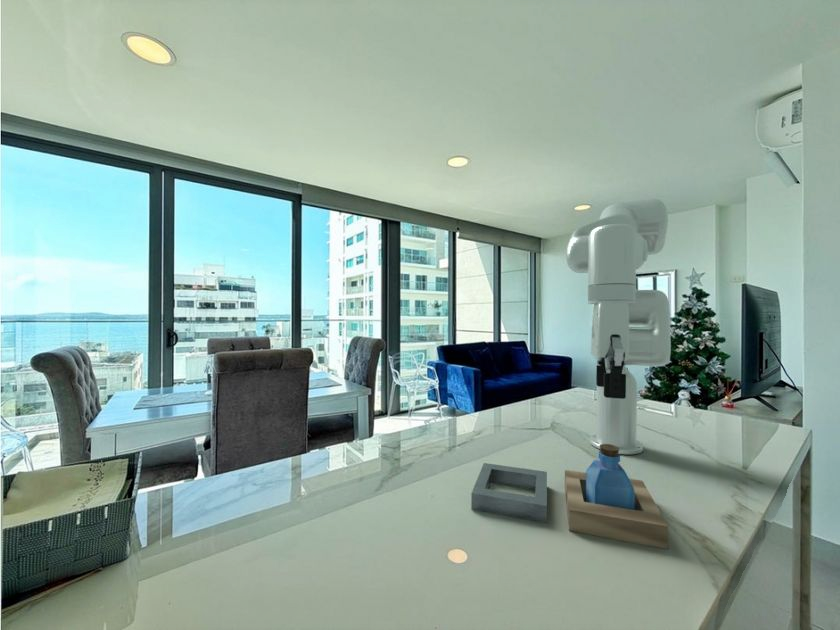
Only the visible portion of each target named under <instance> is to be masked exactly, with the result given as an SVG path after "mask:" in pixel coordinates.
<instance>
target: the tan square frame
mask: <svg viewBox="0 0 840 630" xmlns="http://www.w3.org/2000/svg"><path fill="white" fill-rule="evenodd" d="M629 480H630V482H631V484H632V486H633V488H634V510H632V509H626V508H619V507H613V506H607V505H601V504H594V503H588V502H586V501H584V499H586V472H583V471H576V470H569V469H565V470H564V494H565V502H566V513H567V514H566V515H567V525H568V531H570V532H575V533H580V534H585V535H591V536H596V537H602V538H606V539H613V540H619V541H623V542H627V543H634V544H640V545H644V546H650V547H655V548H660V549H667V550H668V547H669V543H668V542H669V525H668V524H667V521H666V520H665V518H664V517H663V514H662V513H661V511H660V510H659V507H658V506H657V504H656V502H655V500H654V499H653V497H652V495H651V493H650V492H649V490H648V488H647V486H646V484H645V482H644V481H643V480H641V479H635V478H629ZM583 497H584V498H583Z"/></svg>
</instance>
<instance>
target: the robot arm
mask: <svg viewBox="0 0 840 630" xmlns="http://www.w3.org/2000/svg"><path fill="white" fill-rule="evenodd" d="M668 225H669V212H668V209H667V206H666V205H665V203H664V202H663V201H662V200H660V199H658V198H648V199H647V198H646V199H641V200H632V201H624V202H617V203H613V204H611V205H609V206H607V207H606V208H604V210H602V212H601V214H600V216H599V218H598V219H597V220H595V221H592V222H590V223H588V224H584V225H582V226H581V227H578V228H577V229H575V230H574V231H573V233H572V234H571V235H570V238H569V240H568V243H567V247H566V256H565V257H566V264H567V266H568V268H569V269H570V270H571V272H574V273H577V274H587V305H593V307H592V317H591V318H592V319H591V341H590V342H591V343H590V344H591V345H590V355H591V356H592V357H593V358H595V365H596V373H595V374H596V375H595V376H596V378H595V381H596V383H595V384H596V419H595V421H596V422H595V425H596V427H595V430H596V431H595V434H594V435H591V436H590V437H589V443H590V445H591V446H593V447H595V448H596V449H599V450H600V445H601V444H611V445H615V446H617V447H619V452H618V454H619V455H638V454H641V453H643V451H644V446H643V444H642V442H640V441H638V440H637V428H638V426H637V425H638V424H637V417H638V414H637V412H638V411H637V410H638V408H637V407H638V406H637V405H638V384H637V380H636V378H635V375H634V374H632V373H631V371H630V370H629V369H628V368H627V366H644V367H663V366H666V365H667V364H668V363H669V361H670V359H671V351H672V350H671V349H672V348H671V346H672V343H671V340H672V339H671V316H670V315H671V313H670V301H669V299H668V296H667V294H666V293H665V292H663V291H661V290H659V289H637V275H636V274H637V270H639V269H640V268H642V266H643V265H644V264H645V262H646V261H647V260H648V256H649V255H650V256H651V255H656V254H658V253H660V252H661V251H662V250H663V248H664V246H665V243H666V237H667V230H668ZM630 326H645V327H647V328H630Z"/></svg>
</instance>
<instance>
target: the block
mask: <svg viewBox="0 0 840 630" xmlns="http://www.w3.org/2000/svg"><path fill="white" fill-rule="evenodd" d="M492 484H495V485H502V486H508V487H514V488H519V489H521V488H522V489H525V490H527V489H528V490H532V491H535V492H534V493H535V494H534V495H533V496H532V495H527V494H521V493H515V492H509V491H501V490H496V489H490V488H491V486H492ZM470 501H471V507H470V509H471V510H473V511H478V512H484V513H490V514H493V515H494V514H496V515H501V516H505V517H510V518H511V517H512V518H516V519H521V520H528V521H533V522H538V523H544V524H547V523H548V516H547V515H548V512H547V511H548V472H547V471H546V470H545V471H544V470H536V469H530V468H523V467H516V466H507V465H501V464H494V463H487V462H484V463H483V464H482V467H481V469H480V472H479V475H478V476H477V479H476V480H475V483H474V486H473V488H472V490H471V500H470Z"/></svg>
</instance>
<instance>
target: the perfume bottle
mask: <svg viewBox="0 0 840 630" xmlns="http://www.w3.org/2000/svg"><path fill="white" fill-rule="evenodd" d="M618 452H619V447H617V446H615V445H611V444H601V445H600V449H599V450H598V459H599V460H598V459H594V460H593V461H592V463H590V465H589V466H588V467H587V468H586V470H585V473H586V498H585V502H588V503H594V504H601V505H607V506H613V507H619V508H626V509H632V510H634V488H633V486H632V484H631V482H630V480H629V479H630V478H629V477H628V475H627V473H626V471H625V468H623V467H622V466H621V464H620V461H621V454H618Z"/></svg>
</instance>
